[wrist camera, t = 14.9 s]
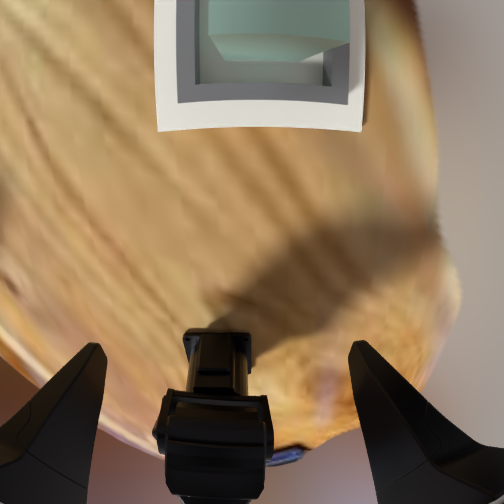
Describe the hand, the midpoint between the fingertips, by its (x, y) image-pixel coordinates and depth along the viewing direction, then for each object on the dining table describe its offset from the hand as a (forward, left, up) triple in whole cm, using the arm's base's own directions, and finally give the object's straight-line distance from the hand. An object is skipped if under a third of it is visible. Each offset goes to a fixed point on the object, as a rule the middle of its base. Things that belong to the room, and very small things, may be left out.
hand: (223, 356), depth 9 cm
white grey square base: (+12, -2, -13) cm, 18 cm away
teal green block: (+12, -2, -12) cm, 17 cm away
